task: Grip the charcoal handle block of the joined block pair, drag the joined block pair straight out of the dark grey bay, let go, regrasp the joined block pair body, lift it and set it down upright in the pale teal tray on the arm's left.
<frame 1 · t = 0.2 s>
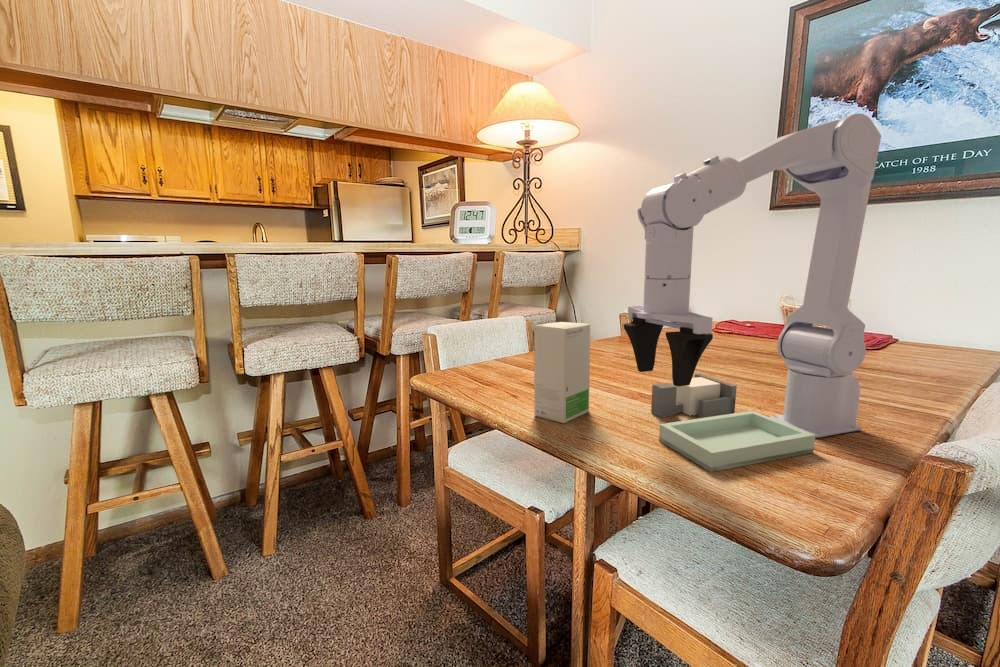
hand: (662, 377, 60), 10 cm above the table, tool pointing down, fingers open, 7 cm apart
tray: (733, 446, 61), on the table
bay: (699, 408, 76), on the table
joined block pair: (694, 409, 76), on the table
skincare box: (561, 414, 75), on the table
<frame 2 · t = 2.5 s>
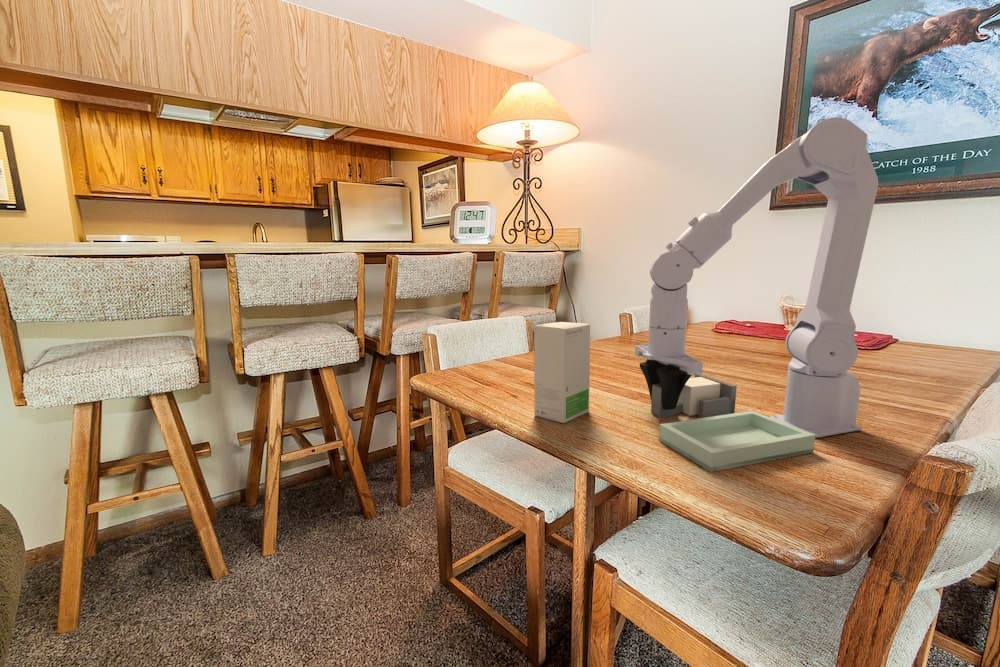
hand: (663, 405, 73), 1 cm above the table, tool pointing down, fingers closed on joined block pair, 2 cm apart
joined block pair: (694, 409, 76), on the table, touching gripper
everything else where it was.
when the fingers open (1 cm above the table, at t = 4.2 s): joined block pair stays where it is, on the table.
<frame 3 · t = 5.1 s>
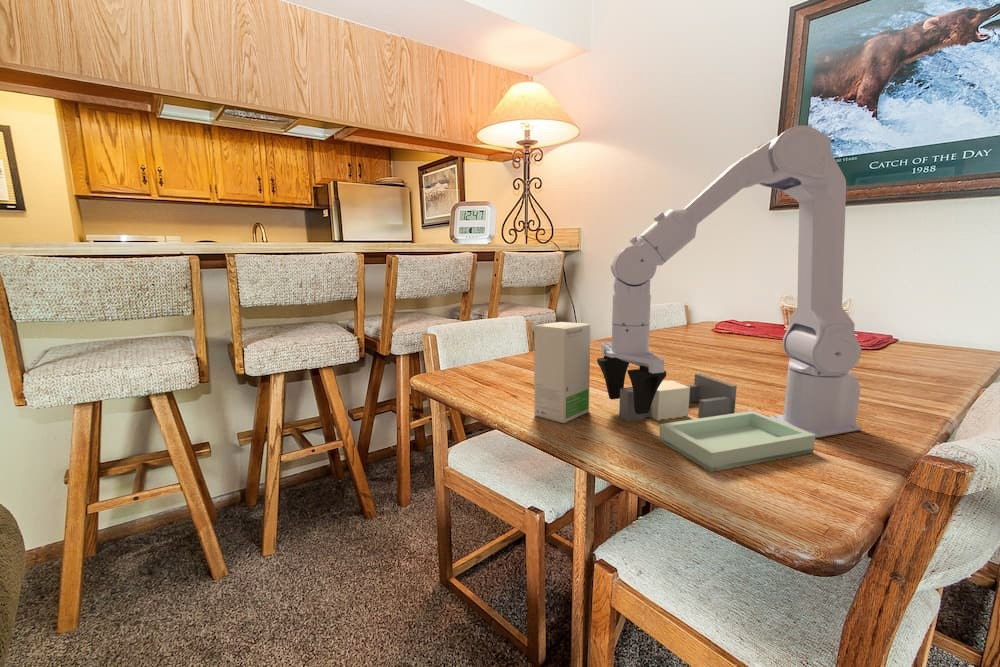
hand: (628, 405, 71), 2 cm above the table, tool pointing down, fingers open, 7 cm apart
joined block pair: (664, 413, 74), on the table
everything else where it was.
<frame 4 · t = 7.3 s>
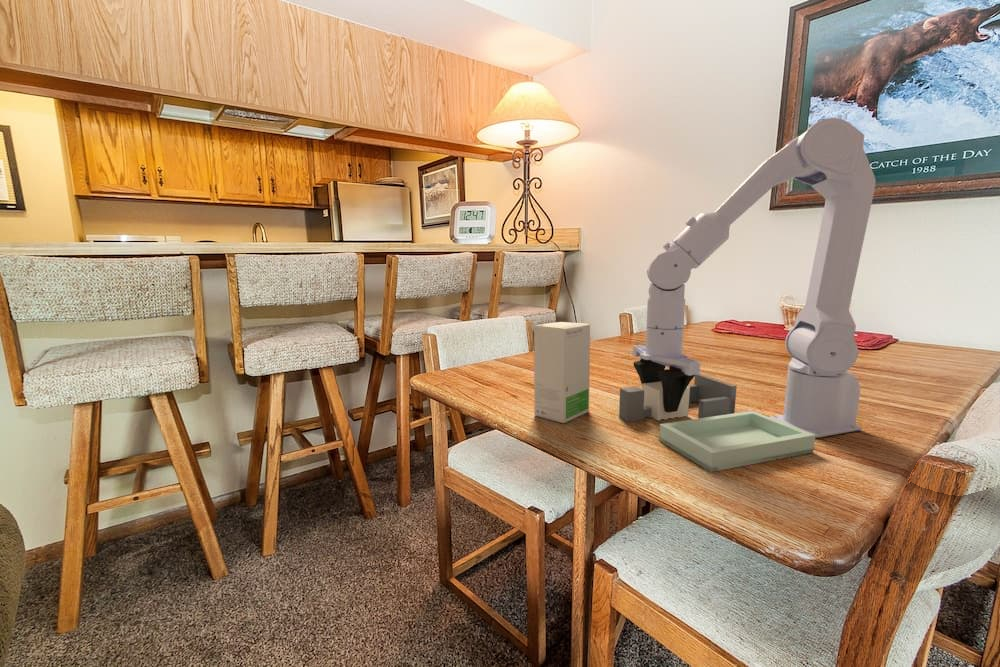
hand: (660, 406, 73), 1 cm above the table, tool pointing down, fingers closed on joined block pair, 4 cm apart
joined block pair: (664, 413, 74), on the table, touching gripper
everything else where it was.
when the fingers open (3 cm above the table, at t = 10.6 s): joined block pair stays where it is, resting on tray.
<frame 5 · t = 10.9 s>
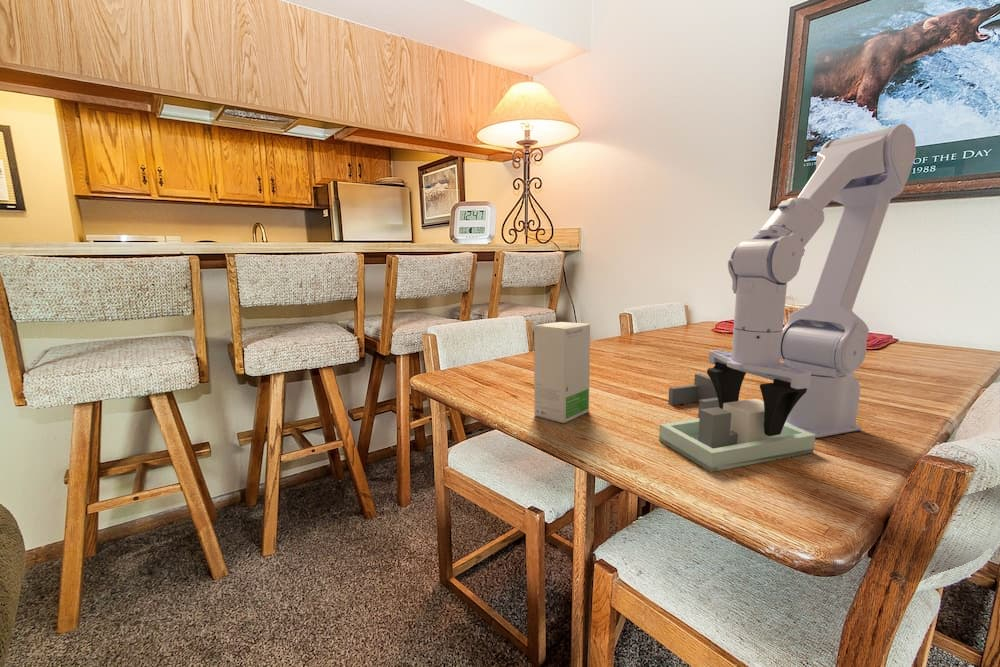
hand: (749, 424, 61), 3 cm above the table, tool pointing down, fingers open, 7 cm apart
joined block pair: (750, 439, 61), point 1 cm above the table, touching tray
everything else where it was.
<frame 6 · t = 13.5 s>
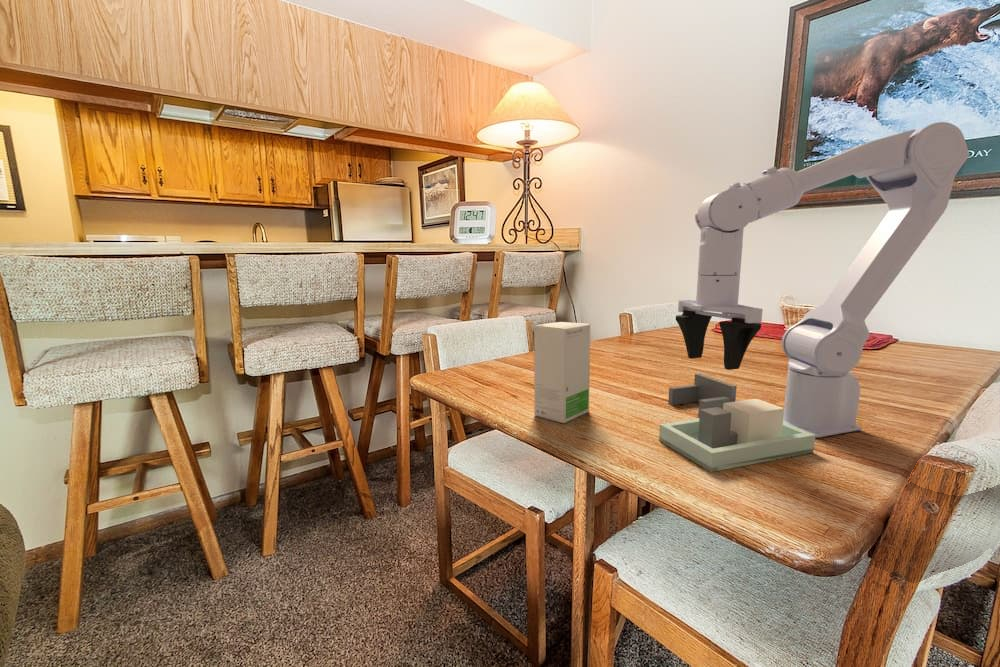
hand: (712, 363, 67), 10 cm above the table, tool pointing down, fingers open, 7 cm apart
nothing on the table moved.
at the end: joined block pair inside the target area on the tray (2.9 cm from its centre), point 0.6 cm above the tray's base; joined block pair tilted 0°; the gripper is holding nothing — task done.
